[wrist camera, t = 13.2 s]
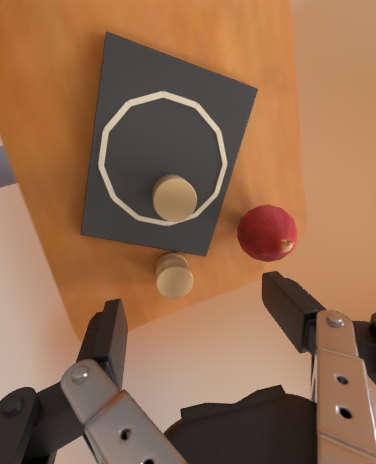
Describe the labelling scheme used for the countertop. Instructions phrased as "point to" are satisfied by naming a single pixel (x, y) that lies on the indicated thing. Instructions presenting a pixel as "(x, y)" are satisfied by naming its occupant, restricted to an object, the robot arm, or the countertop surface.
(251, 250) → the onion
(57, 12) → the countertop surface
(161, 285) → the dot
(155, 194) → the dot
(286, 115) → the countertop surface
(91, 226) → the slate board
